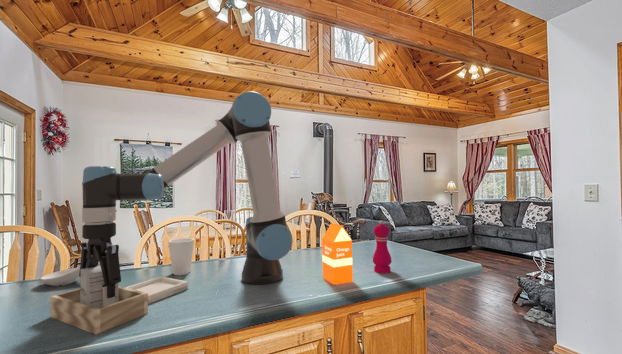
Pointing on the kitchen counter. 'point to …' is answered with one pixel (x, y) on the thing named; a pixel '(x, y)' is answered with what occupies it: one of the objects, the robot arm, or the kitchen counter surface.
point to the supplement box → (93, 287)
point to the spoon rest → (62, 277)
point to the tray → (160, 287)
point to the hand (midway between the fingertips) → (99, 306)
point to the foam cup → (181, 255)
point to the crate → (98, 310)
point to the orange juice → (337, 255)
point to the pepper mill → (381, 249)
